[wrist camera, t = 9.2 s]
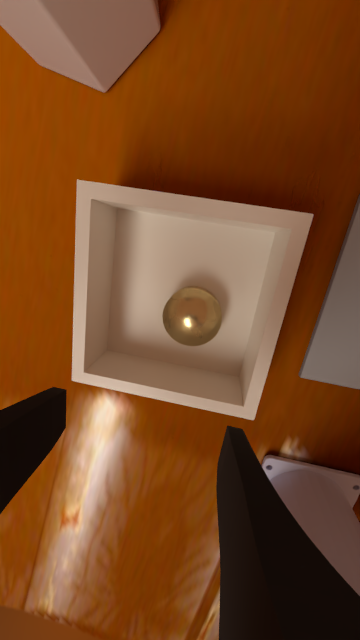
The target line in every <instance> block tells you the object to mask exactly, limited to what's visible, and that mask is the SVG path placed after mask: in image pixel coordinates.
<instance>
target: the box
mask: <svg viewBox="0 0 360 640" xmlns="http://www.w3.org/2000/svg"><path fill="white" fill-rule="evenodd" d="M313 215H314V214H310V213H303V212H296V211H289V210H282V209H276V208H269V207H262V206H255V205H248V204H241V203H234V202H227V201H220V200H214V199H207V198H200V197H193V196H186V195H179V194H172V193H165V192H158V191H151V190H145V189H138V188H131V187H124V186H117V185H110V184H103V183H96V182H89V181H82V180H77V198H76V236H75V275H74V313H73V352H72V381H75V382H80V383H85V384H89V385H94V386H98V387H103V388H108V389H112V390H117V391H121V392H126V393H130V394H135V395H140V396H144V397H149V398H153V399H158V400H163V401H167V402H172V403H176V404H181V405H185V406H190V407H195V408H199V409H204V410H208V411H213V412H218V413H222V414H227V415H231V416H236V417H241V418H245V419H250V420H254V418H255V415H256V411H257V408H258V404H259V401H260V398H261V394H262V391H263V387H264V384H265V380H266V377H267V373H268V370H269V367H270V363H271V360H272V356H273V353H274V349H275V346H276V342H277V339H278V336H279V332H280V329H281V325H282V322H283V318H284V315H285V311H286V308H287V305H288V301H289V298H290V294H291V291H292V287H293V284H294V280H295V277H296V274H297V270H298V267H299V263H300V260H301V256H302V253H303V249H304V246H305V243H306V239H307V236H308V232H309V229H310V225H311V222H312V218H313ZM189 286H197V287H202V288H204V289H207V290H208V291H210V292H211V293H212V294H213V295H214V296H215V297H216V298H217V300H218V301H219V304H220V307H221V313H222V322H221V327H220V329H219V331H218V333H217V335H216V336H215V337H214V338H213V339H212V340H211V341H209V342H207V343H205V344H203V345H199V346H186V345H183V344H180V343H178V342H177V341H175V340H174V339H172V338H171V337H170V335H169V334H168V333H167V331H166V329H165V327H164V324H163V310H164V307H165V305H166V303H167V301H168V300H169V299H170V297H171V296H172V295H173V294H174V293H175V292H177V291H178V290H180V289H182V288H184V287H189Z"/></svg>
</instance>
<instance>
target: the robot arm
mask: <svg viewBox="0 0 360 640" xmlns="http://www.w3.org/2000/svg"><path fill="white" fill-rule="evenodd" d="M65 428H66V390H65V389H60V388H56V387H52V388H50V389H47V390H45V391H43V392H40V393H38V394H36V395H34V396H31V397H29V398H27V399H25V400H23V401H20V402H18V403H16V404H14V405H11V406H9V407H7V408H4V409H2V410H0V514H1V512H2V511H3V510H4V508H5V507H6V506H7V504H8V503H9V502H10V501H11V499H12V498H13V497H14V496H15V494H16V493H17V492H18V491H19V489H20V488H21V487H22V486H23V484H24V483H25V482H26V481H27V480H28V478H29V477H30V476H31V475H32V473H33V472H34V471H35V470H36V469H37V467H38V466H39V465H40V464H41V462H42V461H43V460H44V459H45V457H46V456H47V455H48V454H49V452H50V451H51V450H52V448H53V447H54V445H55V444H56V442H57V441H58V439H59V438H60V436H61V434H62V433H63V431H64V429H65ZM268 465H271V466H268ZM355 485H356V486H355ZM359 494H360V475H357V474H352V473H348V472H344V471H339V470H335V469H331V468H326V467H322V466H317V465H313V464H309V463H304V462H300V461H296V460H291V459H287V458H282V457H278V456H274V455H267V456H265V458H264V460H263V463H262V466H261V464H260V463H259V461H258V459H257V457H256V455H255V453H254V451H253V449H252V448H251V446H250V444H249V442H248V439H247V437H246V435H245V433H244V431H243V430H242V429H240V428H235V427H231V426H227V429H226V433H225V437H224V441H223V445H222V449H221V453H220V457H219V461H218V468H217V508H218V526H219V543H220V568H221V575H220V620H219V640H360V523H359V521H358V519H357V517H356V515H355V513H354V511H353V509H352V508H353V506H354V504H355V502H356V500H357V498H358V496H359Z"/></svg>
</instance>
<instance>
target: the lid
mask: <svg viewBox="0 0 360 640" xmlns="http://www.w3.org/2000/svg"><path fill="white" fill-rule="evenodd" d="M299 376H300V377H301V378H306V379H311V380H316V381H321V382H326V383H331V384H336V385H340V386H345V387H350V388H355V389H360V194H359V197H358V200H357V203H356V206H355V209H354V212H353V215H352V218H351V221H350V224H349V227H348V230H347V233H346V236H345V239H344V242H343V245H342V248H341V251H340V254H339V256H338V259H337V262H336V265H335V268H334V271H333V274H332V277H331V280H330V283H329V286H328V289H327V292H326V295H325V298H324V301H323V304H322V307H321V310H320V313H319V316H318V319H317V322H316V325H315V328H314V331H313V334H312V337H311V340H310V342H309V345H308V348H307V351H306V354H305V357H304V360H303V363H302V366H301V369H300V372H299Z"/></svg>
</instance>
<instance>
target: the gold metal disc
mask: <svg viewBox="0 0 360 640" xmlns="http://www.w3.org/2000/svg"><path fill="white" fill-rule="evenodd" d="M221 322H222V313H221V307H220V304H219V301H218V300H217V298H216V297H215V296H214V295H213V294H212V293H211V292H210V291H208V290H207V289H204V288H202V287H197V286H189V287H184V288H182V289H180V290H178V291H177V292H175V293H174V294H173V295H172V296H171V297H170V299H169V300H168V301H167V303H166V305H165V307H164V310H163V324H164V327H165V329H166V331H167V333H168V334H169V335H170V337H171V338H172V339H174V340H175V341H177V342H178V343H180V344H183V345H186V346H199V345H203V344H205V343H207V342H209V341H211V340H212V339H213V338H214V337H215V336H216V335H217V333H218V331H219V329H220V327H221Z"/></svg>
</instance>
